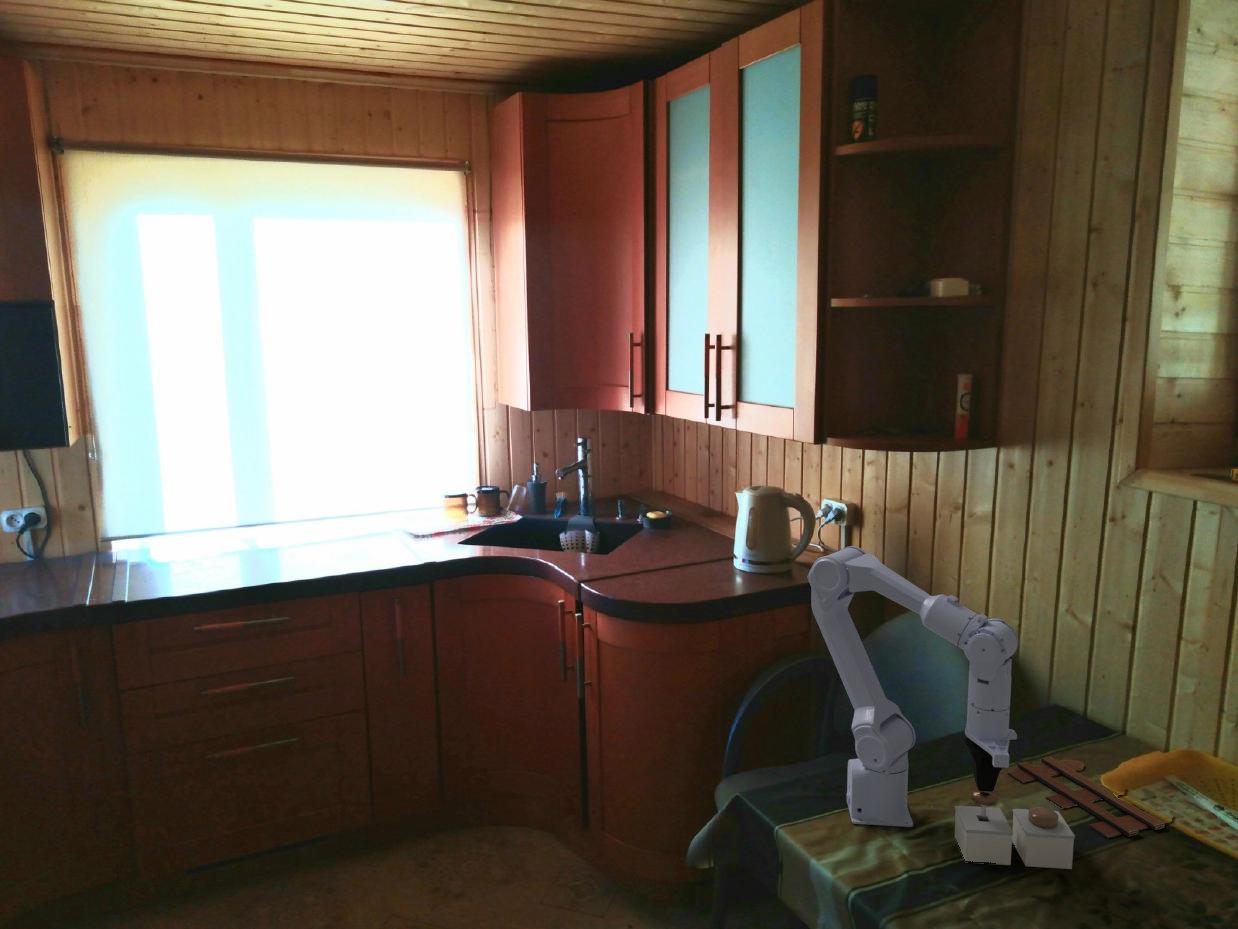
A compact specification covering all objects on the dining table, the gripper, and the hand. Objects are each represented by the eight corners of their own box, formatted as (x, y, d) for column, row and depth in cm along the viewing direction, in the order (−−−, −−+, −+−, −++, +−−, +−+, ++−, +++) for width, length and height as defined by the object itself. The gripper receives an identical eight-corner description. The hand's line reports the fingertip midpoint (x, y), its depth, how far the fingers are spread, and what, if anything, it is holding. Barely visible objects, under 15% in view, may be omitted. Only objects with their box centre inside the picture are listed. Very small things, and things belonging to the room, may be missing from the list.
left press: (964, 862, 126) (966, 829, 125) (951, 833, 134) (953, 801, 133) (1011, 865, 125) (1013, 832, 125) (996, 835, 133) (997, 804, 132)
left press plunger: (972, 834, 127) (974, 798, 126) (965, 819, 131) (967, 784, 130) (1000, 836, 126) (1002, 800, 125) (992, 821, 130) (994, 785, 129)
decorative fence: (1112, 847, 130) (1185, 828, 135) (1112, 836, 130) (1186, 818, 135) (1002, 775, 152) (1068, 761, 157) (1002, 766, 152) (1069, 752, 156)
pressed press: (1025, 866, 125) (1027, 825, 124) (1008, 836, 133) (1010, 797, 132) (1072, 869, 124) (1075, 827, 123) (1053, 839, 132) (1056, 799, 131)
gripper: (1033, 726, 118) (1029, 817, 120) (1002, 684, 132) (998, 766, 134) (980, 724, 119) (976, 814, 121) (954, 682, 133) (951, 764, 135)
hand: (984, 789), depth 128 cm, fingers closed
